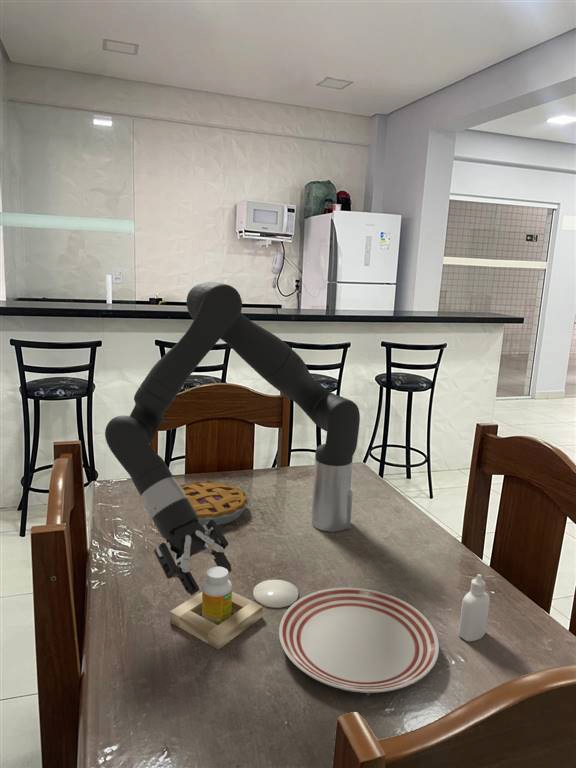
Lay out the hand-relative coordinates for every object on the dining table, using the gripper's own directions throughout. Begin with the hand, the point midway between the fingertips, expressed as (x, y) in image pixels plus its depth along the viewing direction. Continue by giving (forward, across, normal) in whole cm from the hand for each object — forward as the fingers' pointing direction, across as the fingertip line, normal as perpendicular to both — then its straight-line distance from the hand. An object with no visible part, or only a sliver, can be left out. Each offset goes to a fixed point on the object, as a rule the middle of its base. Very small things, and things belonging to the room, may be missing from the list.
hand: (212, 582), depth 107 cm
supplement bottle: (+6, 0, +4) cm, 7 cm away
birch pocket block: (+6, 0, +4) cm, 7 cm away
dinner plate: (+23, +10, -12) cm, 28 cm away
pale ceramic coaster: (+8, +14, +2) cm, 16 cm away
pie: (-18, +32, +28) cm, 47 cm away
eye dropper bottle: (+33, +26, -23) cm, 48 cm away
